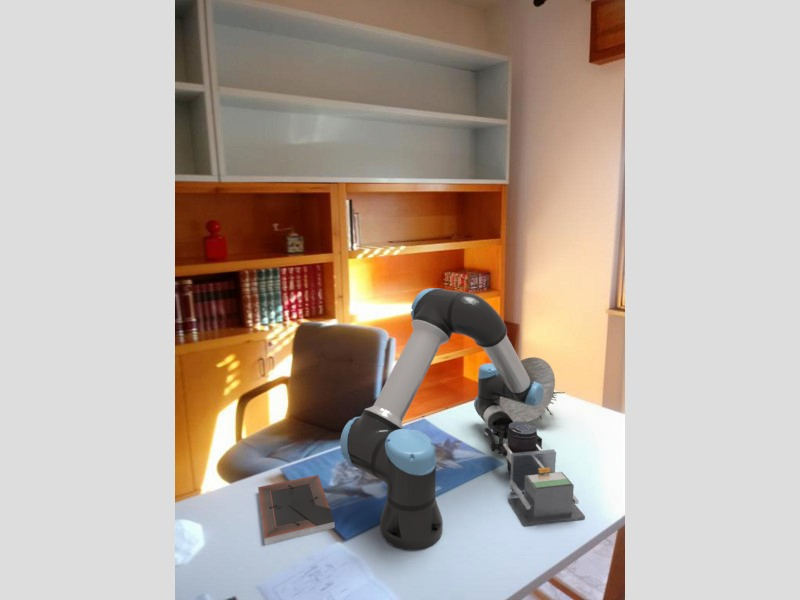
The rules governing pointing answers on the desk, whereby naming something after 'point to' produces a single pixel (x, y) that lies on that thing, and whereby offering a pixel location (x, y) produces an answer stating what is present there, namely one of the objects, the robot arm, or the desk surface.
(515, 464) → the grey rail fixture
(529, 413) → the disc
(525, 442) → the camera lens
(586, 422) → the desk surface
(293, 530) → the picture frame
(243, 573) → the desk surface
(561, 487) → the grey box on baseplate
